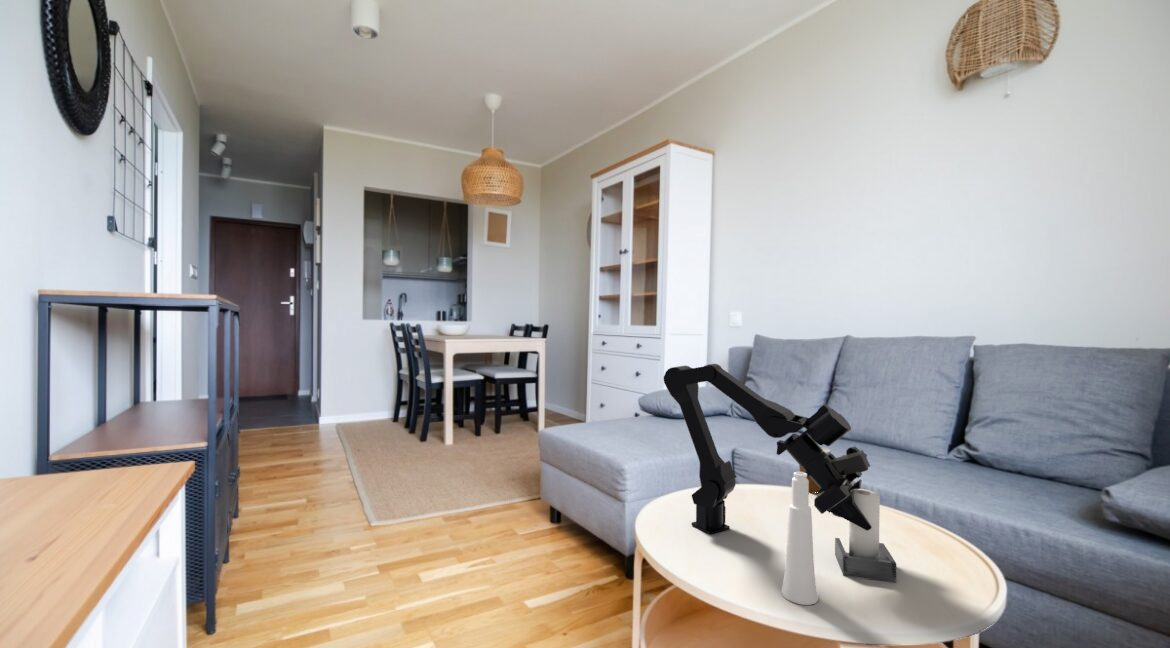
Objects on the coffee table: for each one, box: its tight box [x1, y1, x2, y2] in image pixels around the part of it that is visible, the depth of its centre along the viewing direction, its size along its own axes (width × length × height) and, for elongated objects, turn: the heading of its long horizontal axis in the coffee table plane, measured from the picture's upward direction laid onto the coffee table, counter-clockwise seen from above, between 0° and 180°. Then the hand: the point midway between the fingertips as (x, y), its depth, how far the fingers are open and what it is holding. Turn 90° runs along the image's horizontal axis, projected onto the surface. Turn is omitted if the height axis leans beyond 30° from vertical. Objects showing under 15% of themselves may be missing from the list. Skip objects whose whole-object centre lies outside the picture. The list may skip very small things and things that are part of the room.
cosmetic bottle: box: [781, 471, 819, 606], centre depth 90 cm, size 6×6×22 cm
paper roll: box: [848, 488, 881, 560], centre depth 101 cm, size 5×5×13 cm
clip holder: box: [834, 537, 897, 583], centre depth 101 cm, size 9×9×4 cm
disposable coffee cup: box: [798, 446, 832, 495], centre depth 147 cm, size 10×10×12 cm
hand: (871, 524), depth 100 cm, fingers closed on paper roll, 5 cm apart
